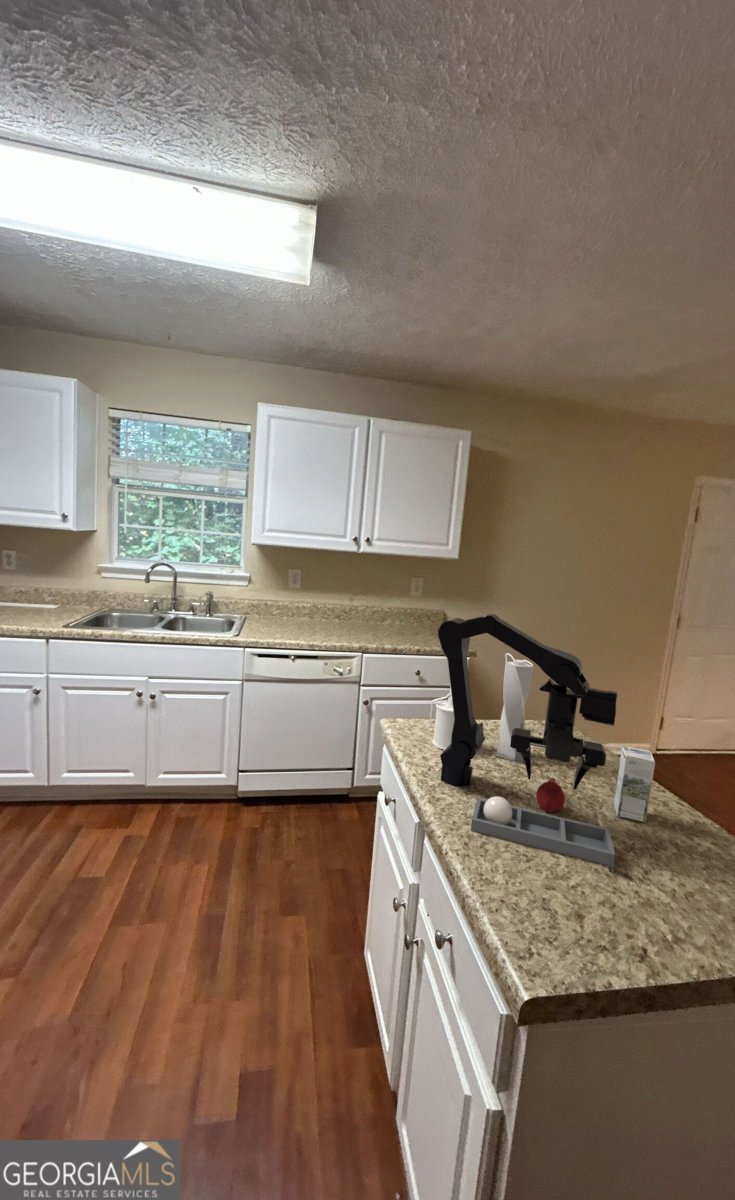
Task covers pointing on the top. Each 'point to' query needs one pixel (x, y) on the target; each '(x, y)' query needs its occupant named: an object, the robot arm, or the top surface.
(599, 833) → the egg tray
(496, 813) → the ceramic egg
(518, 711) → the skyscraper
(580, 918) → the top surface
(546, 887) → the top surface
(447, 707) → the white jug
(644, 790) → the syrup box
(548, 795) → the onion
